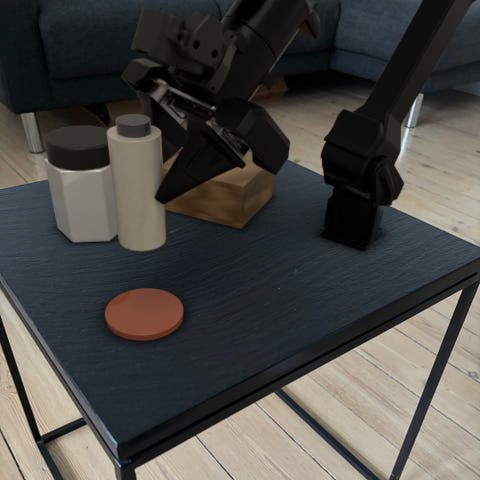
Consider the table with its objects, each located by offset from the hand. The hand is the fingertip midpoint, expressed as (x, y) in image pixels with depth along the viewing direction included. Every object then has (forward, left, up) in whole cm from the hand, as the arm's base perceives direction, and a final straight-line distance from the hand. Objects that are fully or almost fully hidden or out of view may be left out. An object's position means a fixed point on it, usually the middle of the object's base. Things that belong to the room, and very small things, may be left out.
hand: (145, 191), depth 46 cm
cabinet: (+10, -25, -14) cm, 31 cm away
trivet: (0, +1, -14) cm, 14 cm away
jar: (+18, -9, -14) cm, 25 cm away
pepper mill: (0, +1, -5) cm, 5 cm away
